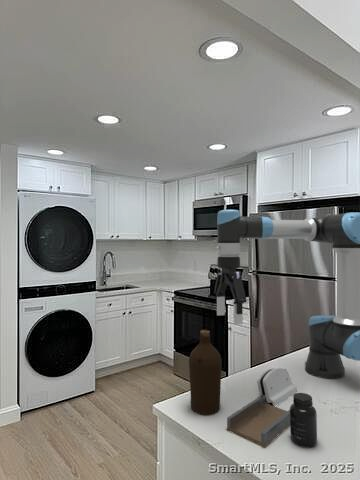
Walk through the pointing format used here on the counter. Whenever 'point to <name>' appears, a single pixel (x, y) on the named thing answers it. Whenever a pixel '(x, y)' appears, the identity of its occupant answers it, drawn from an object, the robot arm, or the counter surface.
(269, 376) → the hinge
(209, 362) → the olive oil
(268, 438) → the floor track
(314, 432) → the supplement bottle
